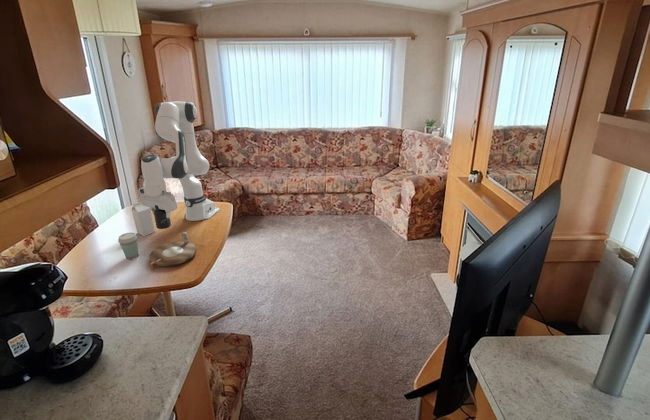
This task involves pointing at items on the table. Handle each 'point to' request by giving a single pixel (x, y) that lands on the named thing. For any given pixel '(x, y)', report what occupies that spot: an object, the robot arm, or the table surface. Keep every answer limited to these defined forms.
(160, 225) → the supplement bottle
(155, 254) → the turntable
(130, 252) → the coffee cup
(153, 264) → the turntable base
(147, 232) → the milk carton
